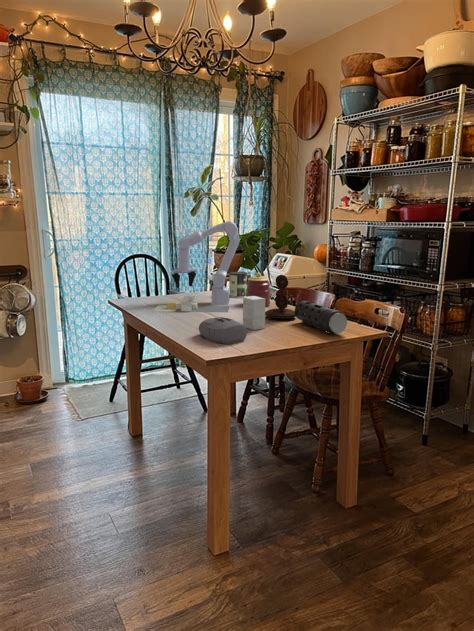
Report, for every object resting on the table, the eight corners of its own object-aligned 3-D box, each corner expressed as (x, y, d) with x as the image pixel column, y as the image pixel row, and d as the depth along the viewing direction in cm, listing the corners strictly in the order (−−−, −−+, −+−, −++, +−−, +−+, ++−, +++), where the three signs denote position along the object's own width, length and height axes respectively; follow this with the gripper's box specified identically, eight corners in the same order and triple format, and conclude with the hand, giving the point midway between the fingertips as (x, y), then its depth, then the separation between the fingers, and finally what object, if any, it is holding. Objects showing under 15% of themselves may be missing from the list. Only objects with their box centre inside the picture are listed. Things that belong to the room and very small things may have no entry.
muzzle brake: (311, 321, 222) (312, 299, 219) (348, 336, 196) (349, 311, 194) (293, 323, 218) (294, 300, 216) (328, 338, 193) (329, 312, 191)
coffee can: (248, 295, 288) (248, 271, 285) (245, 298, 278) (245, 273, 275) (231, 294, 290) (231, 271, 287) (227, 297, 280) (227, 273, 277)
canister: (244, 307, 252) (244, 273, 248) (246, 302, 264) (247, 270, 261) (269, 308, 250) (270, 274, 247) (270, 303, 263) (271, 271, 259)
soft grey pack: (251, 340, 188) (220, 330, 203) (252, 319, 186) (220, 311, 201) (220, 346, 179) (190, 335, 194) (220, 324, 177) (190, 315, 192)
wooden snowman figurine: (297, 321, 220) (299, 278, 216) (265, 321, 221) (266, 277, 217) (295, 315, 235) (296, 273, 231) (264, 314, 236) (265, 273, 231)
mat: (229, 306, 253) (229, 306, 253) (228, 313, 237) (228, 312, 237) (158, 305, 253) (158, 305, 253) (152, 312, 238) (152, 311, 238)
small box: (265, 328, 207) (265, 298, 204) (252, 330, 204) (253, 299, 201) (254, 324, 214) (254, 295, 211) (242, 326, 210) (242, 296, 208)
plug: (197, 308, 245) (197, 302, 245) (196, 309, 242) (196, 303, 242) (166, 307, 247) (166, 301, 246) (164, 308, 244) (164, 303, 243)
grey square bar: (194, 305, 252) (194, 296, 251) (191, 311, 238) (191, 301, 237) (185, 305, 253) (184, 296, 252) (181, 311, 238) (181, 301, 237)
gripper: (175, 262, 246) (175, 288, 249) (199, 261, 254) (200, 286, 257) (168, 261, 252) (169, 287, 254) (193, 259, 260) (193, 285, 263)
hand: (184, 286), depth 256 cm, fingers open, 7 cm apart
